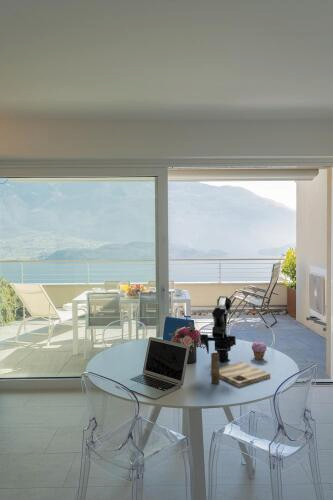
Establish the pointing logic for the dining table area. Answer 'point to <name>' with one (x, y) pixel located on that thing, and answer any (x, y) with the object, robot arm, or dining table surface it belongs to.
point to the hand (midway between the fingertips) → (216, 354)
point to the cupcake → (259, 349)
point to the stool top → (242, 374)
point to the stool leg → (215, 368)
